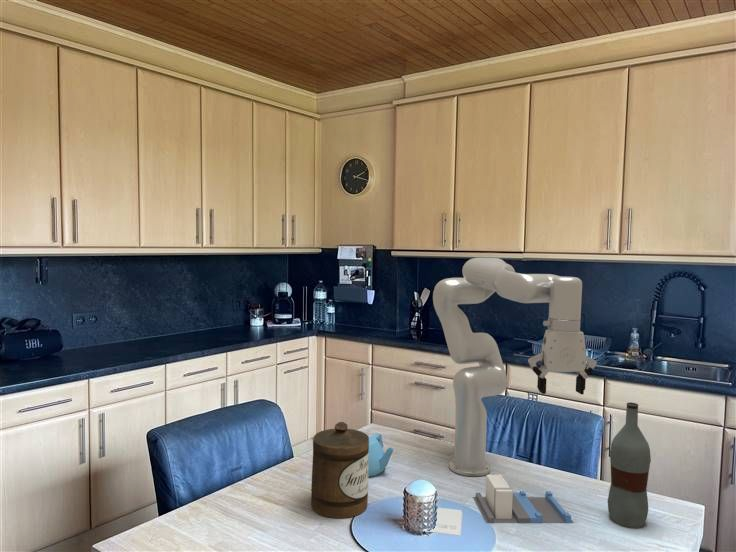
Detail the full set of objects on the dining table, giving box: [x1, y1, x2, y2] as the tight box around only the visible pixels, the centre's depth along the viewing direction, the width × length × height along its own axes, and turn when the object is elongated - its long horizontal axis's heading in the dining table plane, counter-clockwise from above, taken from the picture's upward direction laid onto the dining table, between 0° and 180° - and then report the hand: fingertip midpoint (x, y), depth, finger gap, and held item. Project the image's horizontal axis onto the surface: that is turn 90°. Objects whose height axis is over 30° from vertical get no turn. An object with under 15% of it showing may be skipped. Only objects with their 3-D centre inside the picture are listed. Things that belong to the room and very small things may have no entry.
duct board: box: [472, 490, 575, 524], centre depth 140 cm, size 14×22×3 cm, turn 92°
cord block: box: [485, 474, 514, 519], centre depth 140 cm, size 10×4×7 cm, turn 2°
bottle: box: [607, 401, 652, 529], centre depth 137 cm, size 9×9×30 cm
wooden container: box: [310, 421, 370, 519], centre depth 142 cm, size 15×15×22 cm
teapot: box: [366, 432, 394, 478], centre depth 165 cm, size 15×15×11 cm
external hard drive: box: [425, 507, 463, 537], centre depth 134 cm, size 2×8×12 cm
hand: (560, 392), depth 137 cm, fingers open, 9 cm apart
